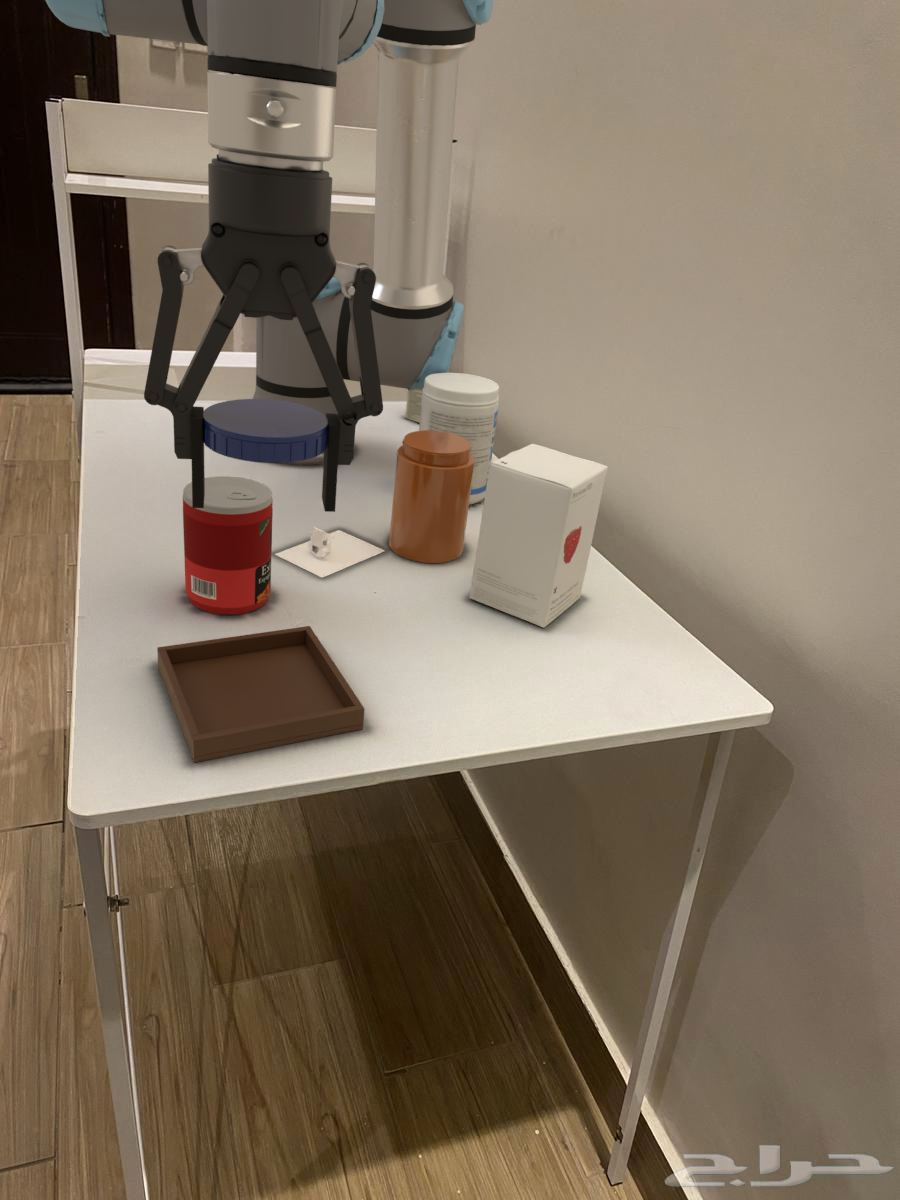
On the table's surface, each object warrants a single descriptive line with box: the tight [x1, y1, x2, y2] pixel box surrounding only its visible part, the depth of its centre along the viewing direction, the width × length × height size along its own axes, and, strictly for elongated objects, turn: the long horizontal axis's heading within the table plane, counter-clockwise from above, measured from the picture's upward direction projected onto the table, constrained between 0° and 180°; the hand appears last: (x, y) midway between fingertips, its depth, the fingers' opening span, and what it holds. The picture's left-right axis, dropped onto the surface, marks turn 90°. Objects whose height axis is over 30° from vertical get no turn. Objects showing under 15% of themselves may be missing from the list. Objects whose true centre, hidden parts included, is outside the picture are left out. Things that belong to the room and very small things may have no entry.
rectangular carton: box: [469, 443, 609, 628], centre depth 91 cm, size 9×9×15 cm
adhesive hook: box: [306, 526, 335, 559], centre depth 97 cm, size 3×3×3 cm
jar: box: [388, 430, 475, 564], centre depth 100 cm, size 8×8×12 cm
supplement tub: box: [418, 372, 500, 505], centre depth 115 cm, size 10×10×15 cm
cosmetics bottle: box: [405, 369, 451, 424], centre depth 142 cm, size 5×4×10 cm
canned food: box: [182, 475, 274, 616], centre depth 85 cm, size 8×8×11 cm
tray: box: [156, 625, 365, 763], centre depth 73 cm, size 13×13×2 cm
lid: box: [203, 398, 328, 464], centre depth 64 cm, size 9×9×2 cm
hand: (264, 502), depth 66 cm, fingers closed on lid, 9 cm apart
